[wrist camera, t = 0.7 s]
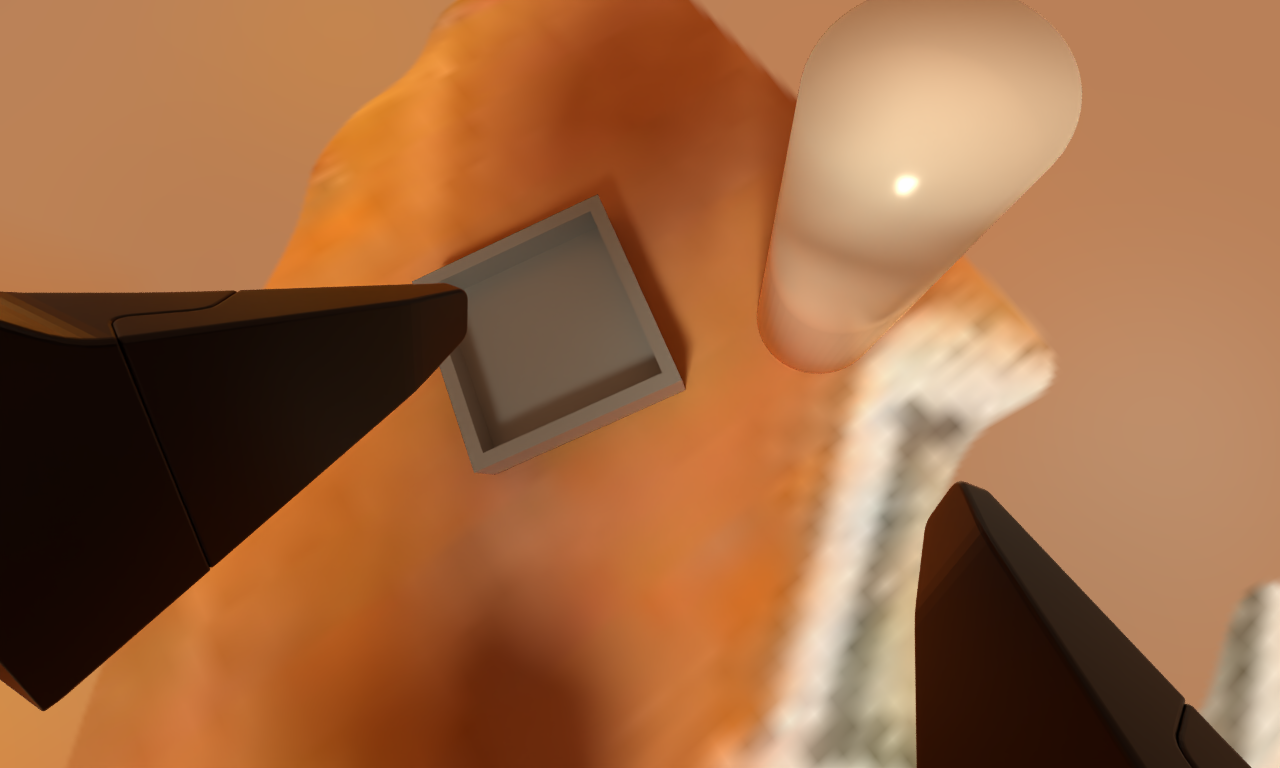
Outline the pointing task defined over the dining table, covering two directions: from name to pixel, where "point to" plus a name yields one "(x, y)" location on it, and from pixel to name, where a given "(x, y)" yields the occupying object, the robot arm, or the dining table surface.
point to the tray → (551, 339)
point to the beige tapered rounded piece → (905, 163)
